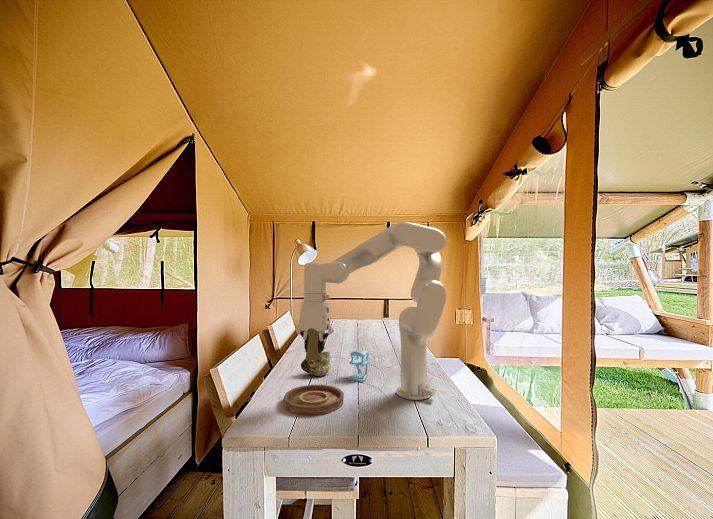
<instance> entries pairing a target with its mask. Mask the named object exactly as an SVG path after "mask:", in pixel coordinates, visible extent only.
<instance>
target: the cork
mask: <svg viewBox="0 0 713 519" xmlns="http://www.w3.org/2000/svg"><path fill="white" fill-rule="evenodd" d="M307 334H308V335H309V336H308V345H307V352H305V359H308V360H319V359H322V358H323V353H322V351H321V353H319V352H318V341H319V332H317V331H316V330H315V329H313V328H310V329H309V330H308V331H307Z"/></svg>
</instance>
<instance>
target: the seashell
mask: <svg viewBox="0 0 713 519" xmlns="http://www.w3.org/2000/svg"><path fill="white" fill-rule="evenodd" d="M322 353H323V358H322V359H319V360H308V359H306V358H304V359H303V360H302V361H301V363H300V368H301V370H303V372H305V373H307V374H310V375H311V376H315V377H322V376H325V375H327V374H328V373H330V370H331V368H332V363H331V352H330V351H323V352H322Z"/></svg>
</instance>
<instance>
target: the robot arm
mask: <svg viewBox="0 0 713 519" xmlns="http://www.w3.org/2000/svg"><path fill="white" fill-rule="evenodd" d="M446 245H447V237H446V235H445V233H444V232H442V231H441V230H440V229H438V228H434V227H431V226H430V227H429V226H426V225H422V224H417V223H413V222H409V221H400V222H396V223H394V224H392V225H390V226H388V227H387V228H385V229H383V230H382V231H380V232H378V233H377V234H375V235H373V236H371V237H370V238H369V239H367V240H365V241H362V242H361V243H360V244H358V245H357V246H355V247H354V248H353V249H351V250H349V251H347V252H345V253H344V254H343V255H341V256H339V257H337V258H336V259H334V260H332V261H330V262H325V263H324V262H315V261H313V262H311V261H310V262H306V263H305V264H304V265H303V301H302V302H301V306H300V311H299V322H298V324H297V326H296V327H295V328H294V329H295V332H297V333H298V334H299V335H300V336H301V338H302V339H303V342H304V344H303V345H304V346H303V348H304V351H305V353H306V352H307V345H308V336H309V335H308V334H307V331H308V330H309V329H310V328H313V329H315V330H316V331H317V332H319V341H318V352H319V353H321V351H322V352H324V350H325V340H326V339H327V338H328V337H329V336H330V335H332V334H334V332H335V330H334V328H333V326H332V325H331V312H330V305H329V301H327V300H329V299H330V295H329V294H327V292H326V291H327V290H326V287H327V284H326V283H329V284H330V283H331V284H342V283H345V282H346V281H347V280H348V278H349V276H350V274H352V273H354V272H355V271H357V270H359V269H362V268H364V267H367V266H370V265H373V264H375V263H377V262H379V261H381V260H382V259H384V258H386V257H387V256H388V255H390V254H392V253H393V252H395V251H397V250H398V249H400V248H401V247H407V248H408V247H409V248H412V249H413V250H414V251H415V253H416V254H417V257H418V263H419V264H418V267H417V272H416V274H415V277H414V280H413V284H412V286H411V289H410V298H411V299H412V301H413V302H414V303H416V306H408V307H404V309H403V310H402V311H401V312H400V314H399V316H398V328H399V335H400V336H399V338H400V385H399V386H397V388H396V395H397V396H399V397H401V398H403V399H406V400H407V399H408V400H411V401H412V400H413V401H420V400H426V399H429V398H430V397H435V394H436V391H437V390H436V388H434V387H431V386H430V382H428V362H427V361H428V359H427V358H428V356H427V354H428V350H427V349H428V344H427V339H428V338H430V337H432V336H433V335H434V334H435V333H436V331H437V329H438V327H439V324H440V321H441V318H442V315H443V312H444V308H445V306H446V302H447V289H446V287H445V285H444V284H442V283H441V282H440V278H441V274H442V270H443V260H442V257H441V253H440V252H442V251H443V250H444V248H446ZM326 331H327V332H326Z"/></svg>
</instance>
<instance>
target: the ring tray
mask: <svg viewBox="0 0 713 519" xmlns="http://www.w3.org/2000/svg"><path fill="white" fill-rule="evenodd" d="M283 404H284V405H283V406H284V408H285V410H286V411H288V412H290V413H293V414H296V415H300V416H319V415H326V414H329V413H330V414H331V413H332V412H335V411H337V410H338V409H340V408H341V407H342V406H343V405H344V392H343V390H341V389H340V388H338V387H335V386H333V385H326V384H308V385H307V384H306V385H301V386H298V387H294V388H292V389H290V390H289V391H287V392H285V394H284V396H283Z"/></svg>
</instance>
